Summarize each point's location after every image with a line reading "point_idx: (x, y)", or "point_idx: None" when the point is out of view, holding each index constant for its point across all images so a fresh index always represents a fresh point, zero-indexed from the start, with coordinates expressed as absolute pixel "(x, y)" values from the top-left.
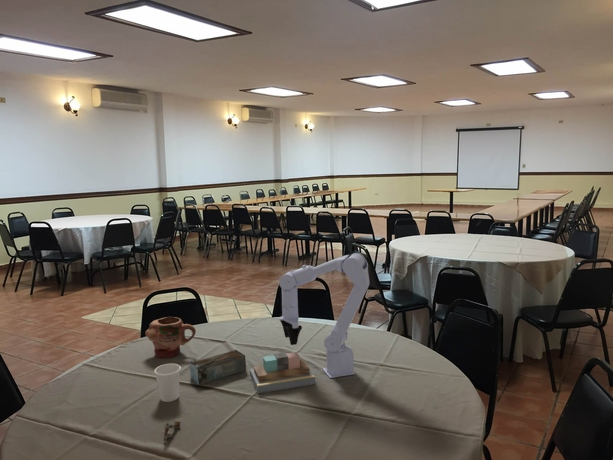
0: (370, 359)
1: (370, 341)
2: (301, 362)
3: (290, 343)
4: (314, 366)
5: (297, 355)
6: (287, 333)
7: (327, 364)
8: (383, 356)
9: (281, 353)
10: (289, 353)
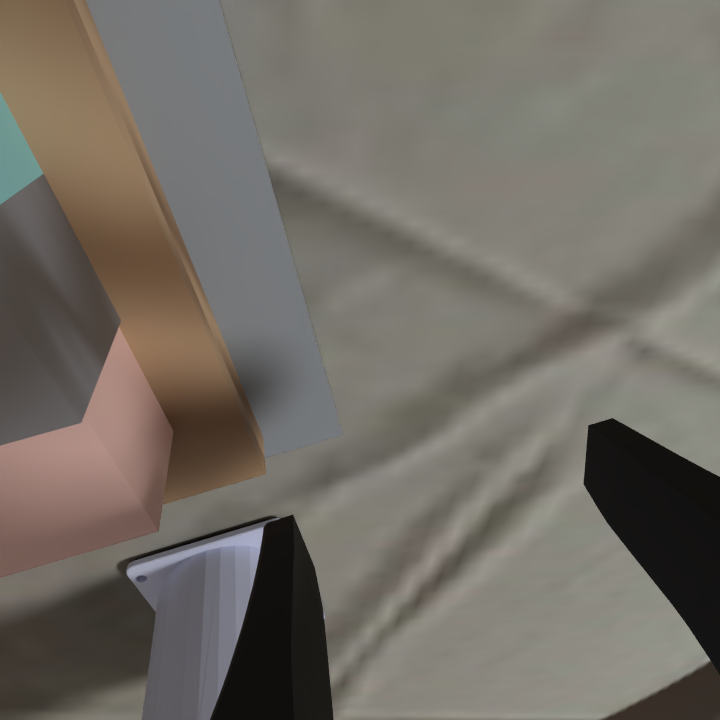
0: (387, 680)
1: (593, 659)
2: (188, 468)
3: (290, 525)
4: (342, 465)
5: (39, 553)
6: (631, 493)
7: (193, 613)
8: (409, 711)
9: (16, 370)
10: (106, 460)
